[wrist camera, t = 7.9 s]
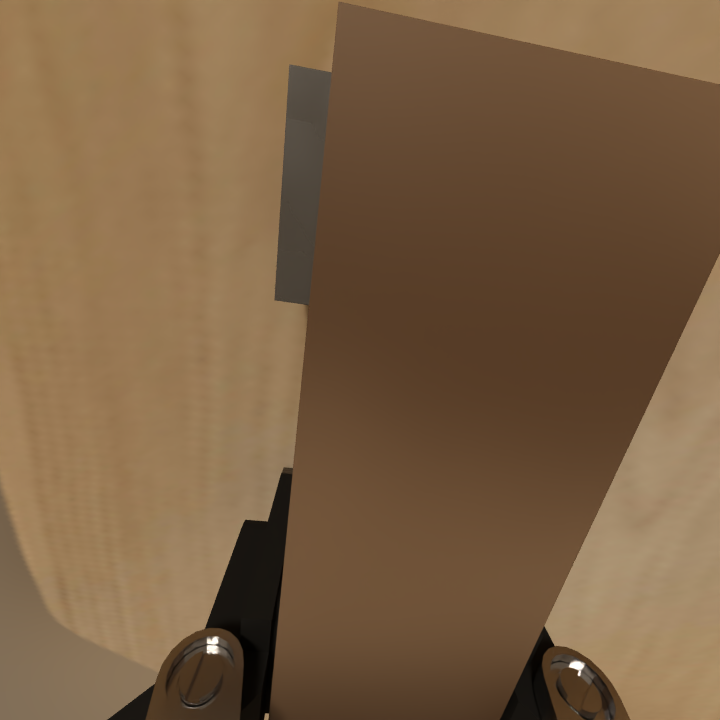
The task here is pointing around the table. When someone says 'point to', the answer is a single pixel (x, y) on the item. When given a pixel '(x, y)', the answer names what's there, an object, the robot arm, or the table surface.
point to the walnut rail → (475, 351)
